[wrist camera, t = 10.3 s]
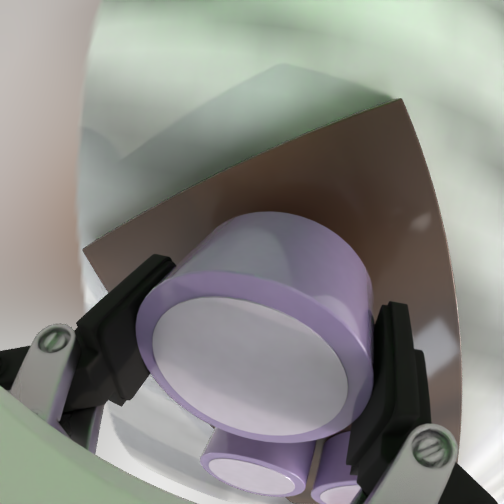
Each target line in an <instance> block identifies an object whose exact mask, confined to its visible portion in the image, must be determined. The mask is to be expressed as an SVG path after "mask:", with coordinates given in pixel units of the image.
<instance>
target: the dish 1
mask: <svg viewBox="0 0 504 504" xmlns="http://www.w3.org/2000/svg"><path fill="white" fill-rule="evenodd" d="M135 330H136V339H137V344H138V348H139V351H140V354H141V357H142V359H143V361H144V363H145V365H146V367H147V368H148V370H149V372H150V373H151V375H152V376H153V378H154V379H155V380H156V382H157V383H158V384H159V385H160V386H161V388H162V389H163V390H164V391H165V392H166V393H167V394H168V395H169V396H170V397H171V398H172V399H173V400H175V401H176V402H177V403H178V404H179V405H181V406H182V407H183V408H184V409H186V410H187V411H189V412H190V413H192V414H193V415H195V416H196V417H198V418H200V419H201V420H203V421H205V422H207V423H209V424H211V425H213V426H215V427H217V428H219V429H222V430H224V431H226V432H229V433H232V434H235V435H238V436H241V437H245V438H249V439H253V440H259V441H265V442H274V443H299V442H307V441H313V440H317V439H321V438H325V437H327V436H330V435H333V434H335V433H337V432H339V431H341V430H343V429H344V428H346V427H347V426H349V425H350V424H351V423H353V422H354V421H355V420H356V419H357V418H358V417H359V416H360V415H361V414H362V412H363V410H364V409H365V407H366V405H367V403H368V401H369V400H370V397H371V395H372V391H373V386H374V361H375V319H374V295H373V288H372V284H371V280H370V277H369V275H368V272H367V270H366V267H365V266H364V264H363V263H362V261H361V259H360V258H359V256H358V255H357V254H356V252H355V251H354V250H353V249H352V248H351V246H350V245H348V244H347V243H346V242H345V241H344V240H343V239H342V238H341V237H340V236H338V235H337V234H335V233H334V232H333V231H331V230H330V229H328V228H327V227H325V226H323V225H321V224H319V223H317V222H315V221H312V220H310V219H307V218H304V217H301V216H298V215H293V214H289V213H283V212H272V211H270V212H254V213H248V214H243V215H240V216H237V217H234V218H232V219H230V220H227V221H225V222H223V223H221V224H220V225H219V226H217V227H216V228H214V229H213V230H212V231H211V232H210V233H209V234H208V235H207V236H206V237H204V238H203V239H202V240H201V241H200V242H199V243H198V244H197V245H196V246H195V247H194V248H193V249H192V250H191V251H190V252H189V253H188V254H187V255H186V256H185V257H184V258H183V259H182V260H181V261H180V262H179V263H178V264H177V265H176V266H175V267H174V268H173V269H172V270H171V271H170V272H169V273H168V274H167V275H166V276H165V277H164V278H163V279H162V280H161V281H160V282H159V283H158V284H157V285H156V286H155V287H154V288H153V289H152V290H151V291H150V292H149V293H148V294H147V295H146V297H145V298H144V300H143V302H142V303H141V305H140V308H139V310H138V313H137V318H136V325H135Z"/></svg>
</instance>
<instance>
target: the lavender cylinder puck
mask: <svg viewBox="0 0 504 504" xmlns="http://www.w3.org/2000/svg"><path fill="white" fill-rule="evenodd" d="M316 445H317V440H313V441H307V442H299V443H274V442H265V441H259V440H253V439H249V438H245V437H241V436H238V435H235V434H232V433H229V432H226V431H224V430H222V429H219V428H217V427H215V428H214V431H213V433H212V435H211V437H210V439H209V441H208V443H207V445H206V447H205V449H204V451H203V453H202V455H201V457H200V463H201V465H202V467H203V468H204V469H205V470H206V471H207V472H208V473H209V474H211V475H212V476H213V477H215V478H217V479H218V480H220V481H222V482H224V483H226V484H228V485H230V486H232V487H235V488H237V489H240V490H243V491H247V492H250V493H254V494H259V495H264V496H273V497H288V496H294V495H298V494H300V493H302V492H303V491H304V490H305V488H306V485H307V481H308V477H309V473H310V469H311V465H312V461H313V457H314V453H315V449H316Z"/></svg>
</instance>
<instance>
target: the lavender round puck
mask: <svg viewBox="0 0 504 504" xmlns="http://www.w3.org/2000/svg"><path fill="white" fill-rule="evenodd" d="M349 438H350V431H347V432H344V433H340V434H338V435H335V436H333V437H331V438H330V439H328V440H327V441H326V442H325V443H324V444H323V446H322V448H321V453H320V457H319V461H318V466H317V470H316V474H315V478H314V482H313V486H312V490H311V497H312V498H313V500H315V501H316V502H318V503H320V504H350V502H351V501H352V500H353V498H354V497H355V496H356V494H357V493H358V491H359V490H360V489H361V487H360V486H359V485H358V484H357V483H356V481H357V476H355V475H350V470H351V466H350V465H346V458H347V451H348V445H349Z"/></svg>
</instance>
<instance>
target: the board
mask: <svg viewBox="0 0 504 504" xmlns="http://www.w3.org/2000/svg"><path fill="white" fill-rule="evenodd" d="M270 211H272V212H283V213H289V214H293V215H298V216H301V217H304V218H307V219H310V220H312V221H315V222H317V223H319V224H321V225H323V226H325V227H327V228H328V229H330V230H331V231H333V232H334V233H335V234H337V235H338V236H340V237H341V238H342V239H343V240H344V241H345V242H346V243H347V244H348V245H350V246H351V248H352V249H353V250H354V251H355V252H356V254H357V255H358V256H359V258H360V259H361V261H362V263H363V264H364V266H365V267H366V270H367V272H368V275H369V277H370V280H371V284H372V288H373V295H374V319H375V322H376V319H377V317H378V314H379V311H380V308H381V306H382V305H388V303H389V301H393V302H399V303H404V304H407V305H408V310H409V316H410V322H411V328H412V335H413V343H414V349H418V350H422V351H423V352H424V356H425V363H426V371H427V379H428V387H429V397H430V408H431V422H432V424H437V425H440V426H443V427H444V428H446V429H447V430H449V431H450V432H451V434H452V435H453V436H454V438H455V440H456V442H457V446H458V454H459V444H460V432H461V415H462V355H461V338H460V325H459V315H458V306H457V297H456V290H455V283H454V277H453V270H452V265H451V259H450V254H449V248H448V243H447V239H446V234H445V230H444V225H443V221H442V217H441V213H440V209H439V205H438V201H437V197H436V194H435V190H434V187H433V183H432V180H431V177H430V173H429V170H428V167H427V164H426V161H425V158H424V155H423V152H422V149H421V146H420V143H419V140H418V138H417V135H416V132H415V130H414V127H413V124H412V122H411V119H410V117H409V114H408V112H407V109H406V107H405V105H404V102H403V100H402V99H401V98H398V99H394V100H391V101H388V102H385V103H382V104H379V105H377V106H374V107H371V108H368V109H366V110H363V111H360V112H358V113H355V114H352V115H350V116H347V117H344V118H342V119H339V120H337V121H334V122H332V123H329V124H327V125H324V126H322V127H319V128H317V129H314V130H312V131H309V132H307V133H305V134H302V135H300V136H298V137H295V138H293V139H291V140H288V141H286V142H284V143H281V144H279V145H277V146H275V147H272V148H270V149H268V150H266V151H263V152H261V153H259V154H257V155H255V156H253V157H250V158H248V159H246V160H244V161H242V162H240V163H238V164H236V165H234V166H231V167H229V168H227V169H225V170H223V171H221V172H219V173H217V174H215V175H213V176H211V177H209V178H207V179H205V180H203V181H201V182H199V183H197V184H195V185H193V186H191V187H189V188H188V189H186V190H184V191H182V192H180V193H178V194H176V195H174V196H172V197H170V198H169V199H167V200H165V201H163V202H161V203H159V204H158V205H156V206H154V207H152V208H150V209H149V210H147V211H145V212H143V213H141V214H140V215H138V216H136V217H134V218H133V219H131V220H129V221H127V222H126V223H124V224H122V225H121V226H119V227H117V228H115V229H114V230H112V231H110V232H109V233H107V234H105V235H104V236H102V237H100V238H99V239H97V240H95V241H94V242H92V243H91V244H89V245H88V246H86V247H85V248H83V252H84V254H85V255H86V257H87V259H88V260H89V262H90V264H91V265H92V267H93V269H94V270H95V272H96V274H97V275H98V277H99V279H100V280H101V282H102V283H103V285H104V287H105V288H106V290H107V291H108V293H109V292H110V291H111V290H112V289H114V288H115V287H116V286H117V285H118V284H119V283H120V282H121V281H123V280H124V279H125V278H126V277H127V276H128V275H129V274H131V273H132V272H133V271H134V270H135V269H136V268H137V267H139V266H140V265H141V264H142V263H143V262H144V261H146V260H147V259H148V258H149V257H150V256H151V255H153V254H159V255H163V256H168V257H170V258H171V259H172V262H174V263H175V264H176V265H177V264H178V263H179V262H180V261H181V260H182V259H183V258H184V257H185V256H186V255H187V254H188V253H189V252H190V251H191V250H192V249H193V248H194V247H195V246H196V245H197V244H198V243H199V242H200V241H201V240H202V239H203V238H204V237H206V236H207V235H208V234H209V233H210V232H211V231H212V230H213V229H214V228H216V227H217V226H219V225H220V224H221V223H223V222H225V221H227V220H230V219H232V218H234V217H237V216H240V215H243V214H248V213H254V212H270ZM351 424H352V423H351ZM351 424H350V425H349V426H347V427H346V428H344V429H343V430H341V431H339V432H337V433H335V434H333V435H330V436H327V437H325V438H321V439H317V445H316V449H315V453H314V457H313V461H312V465H311V469H310V473H309V477H308V481H307V485H306V488H305V490H304V491H303V492H302V493H300V494H298V495H294V496H288V497H286V498H287V499H288V500H289V501H290V502H292V503H296V504H320V503H318V502H316V501H315V500H313V498H312V497H311V490H312V486H313V482H314V478H315V474H316V470H317V466H318V461H319V457H320V453H321V448H322V446H323V444H324V443H325V442H326V441H327V440H328V439H330V438H331V437H333V436H335V435H338V434H340V433H344V432H347V431H351ZM210 425H211V424H210ZM211 426H212V427H213V428H215V426H213V425H211ZM458 454H457V459H456V463H457V462H458Z"/></svg>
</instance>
